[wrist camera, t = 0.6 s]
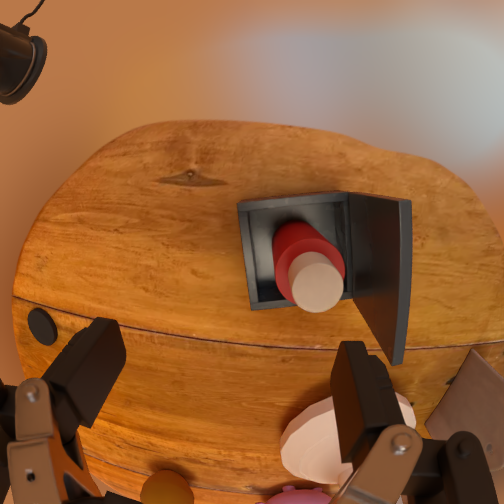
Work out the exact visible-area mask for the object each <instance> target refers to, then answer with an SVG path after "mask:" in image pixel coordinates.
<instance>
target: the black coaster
mask: <svg viewBox="0 0 504 504" xmlns="http://www.w3.org/2000/svg"><path fill="white" fill-rule="evenodd" d="M28 325H29V328H30V330H31V332H32V334H33V336H34V337H35V338H36V339H37V340H38V341H39V342H40V343H42V344H44V345H47V346H49V345H52V344H53V343H54V342H55V341H56V339H57V329H56V326H55V323H54V321H53V320H52V318H51V317H50V316H49V314H48V313H47V312H45V311H44V310H42V309H39V308H36V309H34V310H32V311H31V312H30V313H29V315H28Z"/></svg>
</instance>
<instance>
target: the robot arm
mask: <svg viewBox="0 0 504 504" xmlns="http://www.w3.org/2000/svg"><path fill="white" fill-rule="evenodd" d="M44 1H45V0H41V1H40V3H39V4H38V6H37V7H36V8H35V9H34V11H33V12H32V13H29V14H27V15H25V16H24V17H23V18H22V19H21V21H20V22H18V23H17V24H16V25H15V26H13V27H12V28H10V27H8V26H5V25H3V24H1V23H0V95H2V96H12V95H14V94H15V93H17V92H18V91H19V90H20V89H21V88H22V86H23V85H24V84H25V83H26V81H27V80H28V78H29V76H30V75H31V73H32V70H33V68H34V66H35V63H36V59H37V46H36V45H35V44H34V43H33V42H34V39H33V38H31V37H29V36H28V35H29V31H30V28H29V27H27V26H25V25H23V22H24V20H26V19H27V18H28V17H31V16H32V15H34V14H35V13H36V12H37V11H38V9H39V8H40V7H41V5H42V4H43V2H44ZM125 362H126V349H125V346H124V342H123V339H122V335H121V331H120V328H119V324H118V322H117V321H116V320H113V319H108V318H103V317H97V318H95V319H94V321H93V322H92V323H91V324H90V326H89V327H88V328H86V327H85V328H84V329H82V330H81V331H79V332H78V333H76V334H75V335H74V336H73V337H72V339H71V340H70V341H69V342H68V345H66V346H65V347H64V349H63V350H62V352H60V354H59V355H58V356H57V357H56V359H55V360H54V361H53V363H52V364H51V365H50V367H49V368H48V369H47V371H46V372H45V373H44V375H43V376H42V377H41V378H30V379H27V380H25V381H23V382H22V383H21V384H20V385H19V386H10V385H4V384H3V382H2V380H1V379H0V504H3V502H4V500H5V497H6V495H7V492H8V490H9V487H10V485H11V489H12V495H13V500H14V504H143V503H141V502H139V501H136V500H133V499H129V498H126V497H123V496H120V495H118V494H115V493H112V492H109V491H107V492H106V494H105V497H102V495H101V493H100V491H99V489H98V487H97V485H96V484H95V482H94V481H93V479H92V477H91V475H90V473H89V470H88V466H87V463H86V459H85V456H84V452H83V448H82V445H81V441H80V436H79V433H78V431H77V429H78V427H79V425H82V426H85V427H87V428H90V429H91V427H92V425H93V423H94V421H95V419H96V417H97V415H98V413H99V411H100V409H101V408H102V406H103V404H104V402H105V400H106V398H107V396H108V394H109V392H110V391H111V389H112V387H113V385H114V383H115V381H116V380H117V378H118V376H119V374H120V372H121V371H122V369H123V367H124V365H125ZM330 385H331V393H332V399H333V405H334V412H335V419H336V426H337V433H338V440H339V448H340V456H341V464H343V463H352V468H353V471H352V473H351V474H350V475H349V477H348V478H347V480H346V481H345V482H344V484H343V485H342V486H341V488H340V489H339V490H338V492H337V493H336V494H335V496H334V497H333V498H332V499H331V501H330V502H329V503H328V504H396V503H397V501H398V499H399V497H400V495H406V496H407V501H408V504H499V503H498V499H497V495H496V491H495V487H494V483H493V480H492V476H491V473H490V469H489V466H488V463H487V460H486V457H485V454H484V451H483V448H482V445H481V442H480V440H479V439H478V438H477V436H475V435H474V434H473V433H471V432H468V431H459V432H456V433H454V434H453V435H452V436H451V437H450V438H449V439H448V440H434V439H425V438H422V437H421V436H420V435H419V433H418V432H417V431H416V430H415V429H413V428H412V427H410V426H407V425H406V423H405V420H404V417H403V414H402V411H401V408H400V405H399V402H398V400H397V397H396V394H395V391H394V388H392V386H393V385H392V383H391V380H390V379H389V374H388V372H387V369H386V366H385V364H384V363H383V362H382V361H381V360H380V359H379V358H378V357H377V356H376V355H368V353H367V350H366V347H365V344H364V342H363V341H341V343H340V345H339V348H338V352H337V355H336V359H335V362H334V365H333V369H332V372H331V380H330Z"/></svg>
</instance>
